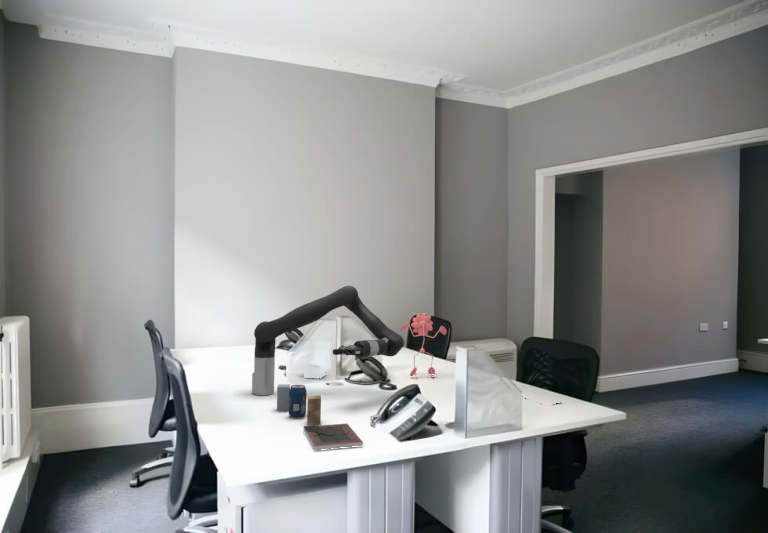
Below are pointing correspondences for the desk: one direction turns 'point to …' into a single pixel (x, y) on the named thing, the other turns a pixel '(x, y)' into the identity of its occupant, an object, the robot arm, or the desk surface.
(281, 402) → the slate block
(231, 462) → the desk surface
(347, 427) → the picture frame
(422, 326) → the pink toy figure
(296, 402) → the soda can
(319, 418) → the walnut block
